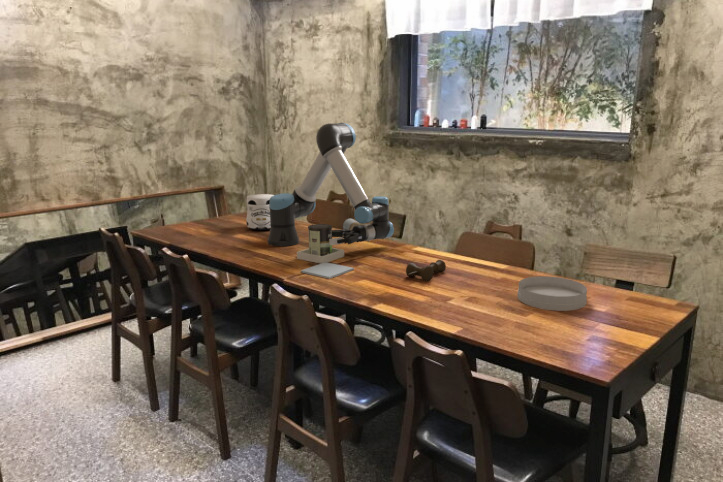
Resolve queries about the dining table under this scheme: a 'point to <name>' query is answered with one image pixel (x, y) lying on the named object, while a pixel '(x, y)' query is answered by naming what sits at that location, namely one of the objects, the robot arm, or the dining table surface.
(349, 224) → the ceramic mug
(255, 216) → the milk container
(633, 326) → the dining table surface
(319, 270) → the mat
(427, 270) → the kendama
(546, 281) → the dish
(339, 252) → the frame
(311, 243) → the coffee can
